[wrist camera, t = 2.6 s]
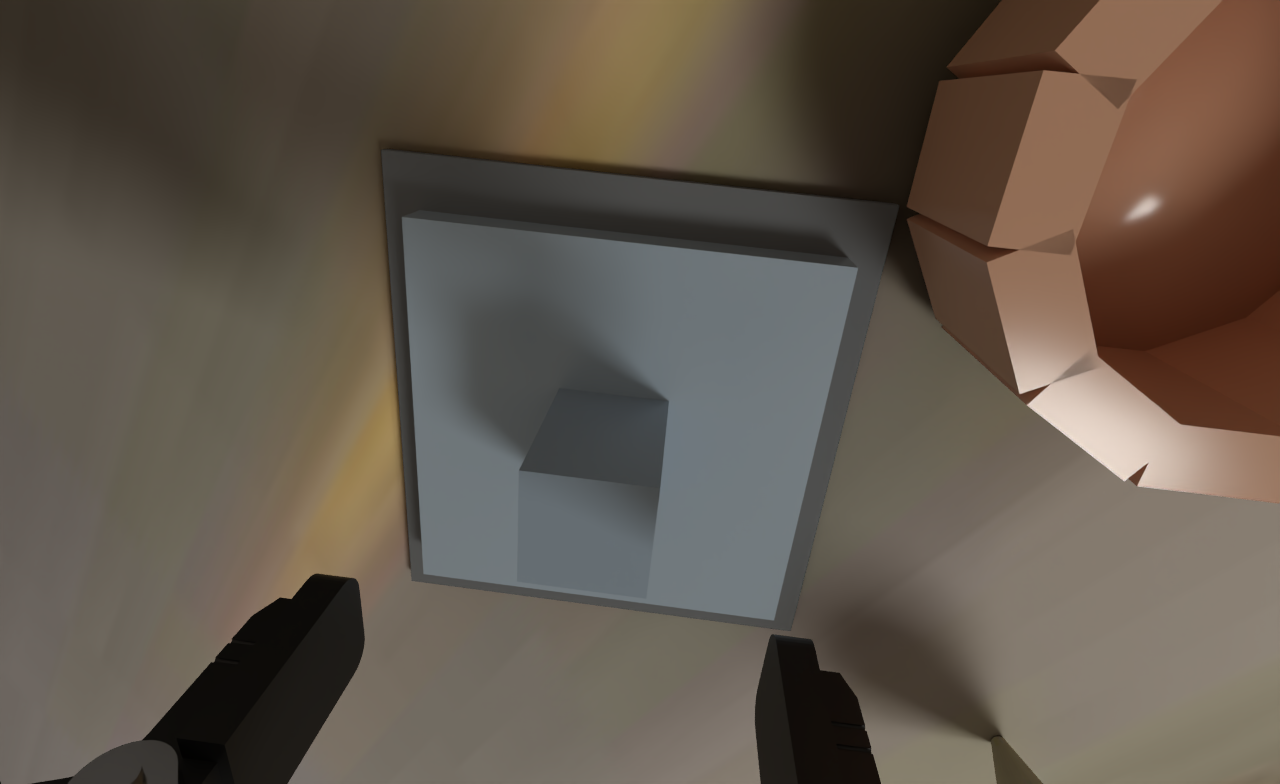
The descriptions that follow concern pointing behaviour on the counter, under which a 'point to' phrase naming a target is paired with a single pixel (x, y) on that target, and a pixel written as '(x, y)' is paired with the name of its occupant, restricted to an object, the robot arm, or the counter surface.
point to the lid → (616, 407)
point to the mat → (654, 213)
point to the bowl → (1118, 229)
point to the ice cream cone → (1010, 765)
